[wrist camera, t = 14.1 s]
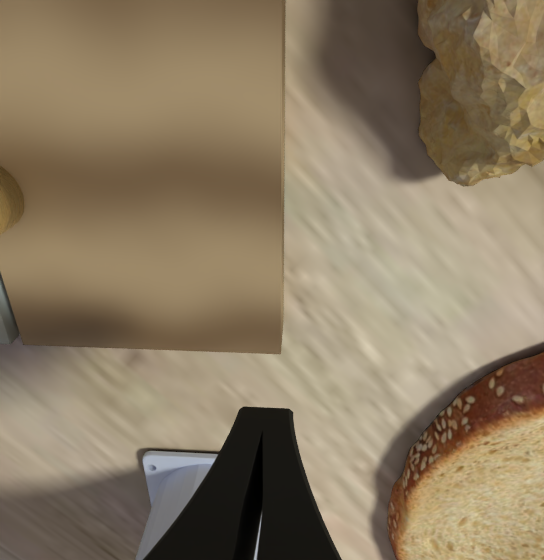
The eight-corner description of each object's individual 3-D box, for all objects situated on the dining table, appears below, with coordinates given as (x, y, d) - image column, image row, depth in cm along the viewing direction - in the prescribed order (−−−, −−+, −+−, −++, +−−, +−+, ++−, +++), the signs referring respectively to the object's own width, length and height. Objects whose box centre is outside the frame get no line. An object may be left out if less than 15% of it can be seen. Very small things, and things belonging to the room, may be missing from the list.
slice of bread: (422, 590, 34) (434, 652, 30) (308, 417, 27) (307, 474, 23) (715, 528, 29) (767, 595, 25) (672, 294, 21) (736, 345, 18)
